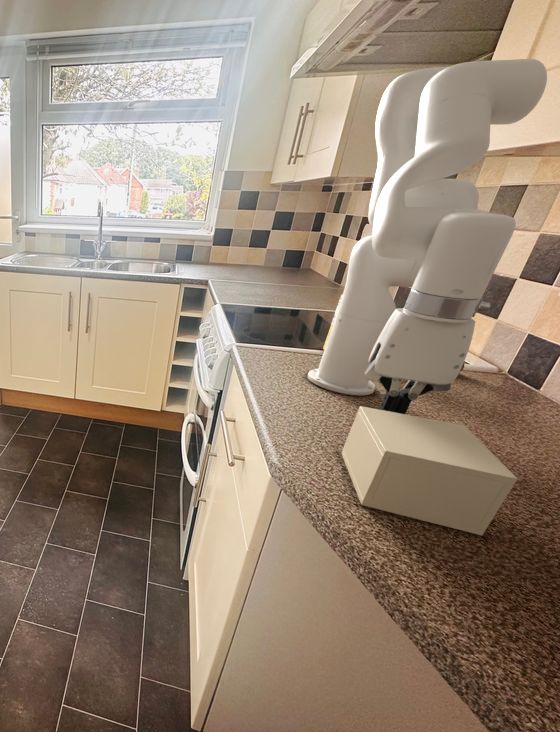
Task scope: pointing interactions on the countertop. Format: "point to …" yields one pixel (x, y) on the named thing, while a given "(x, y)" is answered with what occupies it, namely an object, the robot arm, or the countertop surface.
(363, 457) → the cream box with lid
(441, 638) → the countertop surface
